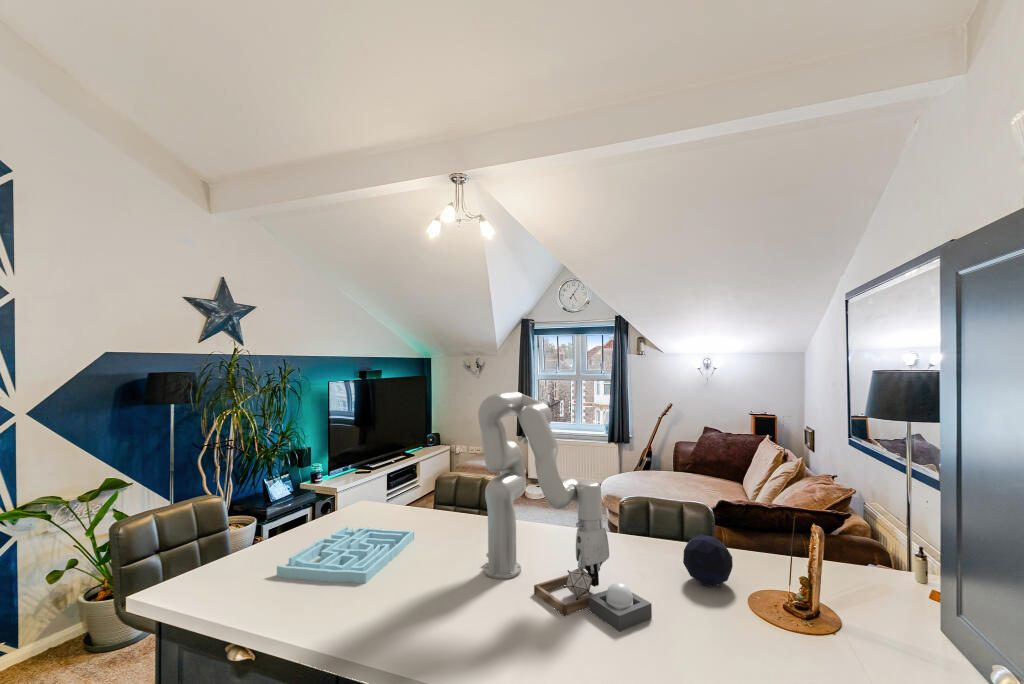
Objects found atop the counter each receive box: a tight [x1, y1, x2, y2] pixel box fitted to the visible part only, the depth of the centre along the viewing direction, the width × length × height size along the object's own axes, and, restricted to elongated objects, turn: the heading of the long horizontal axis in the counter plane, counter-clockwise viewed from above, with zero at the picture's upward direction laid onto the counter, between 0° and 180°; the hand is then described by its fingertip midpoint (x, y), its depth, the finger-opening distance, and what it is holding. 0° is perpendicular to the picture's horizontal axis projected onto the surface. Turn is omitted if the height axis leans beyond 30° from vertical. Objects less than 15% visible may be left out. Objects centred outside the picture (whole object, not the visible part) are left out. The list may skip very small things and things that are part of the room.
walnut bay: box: [533, 574, 601, 617], centre depth 137 cm, size 15×14×2 cm
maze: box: [276, 525, 415, 584], centre depth 170 cm, size 40×33×4 cm
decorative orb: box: [682, 534, 734, 587], centre depth 146 cm, size 14×15×15 cm
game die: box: [563, 567, 595, 601], centre depth 138 cm, size 9×8×10 cm
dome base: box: [588, 589, 653, 632], centre depth 128 cm, size 12×12×4 cm
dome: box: [606, 581, 633, 610], centre depth 128 cm, size 7×7×7 cm
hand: (593, 584), depth 141 cm, fingers closed
